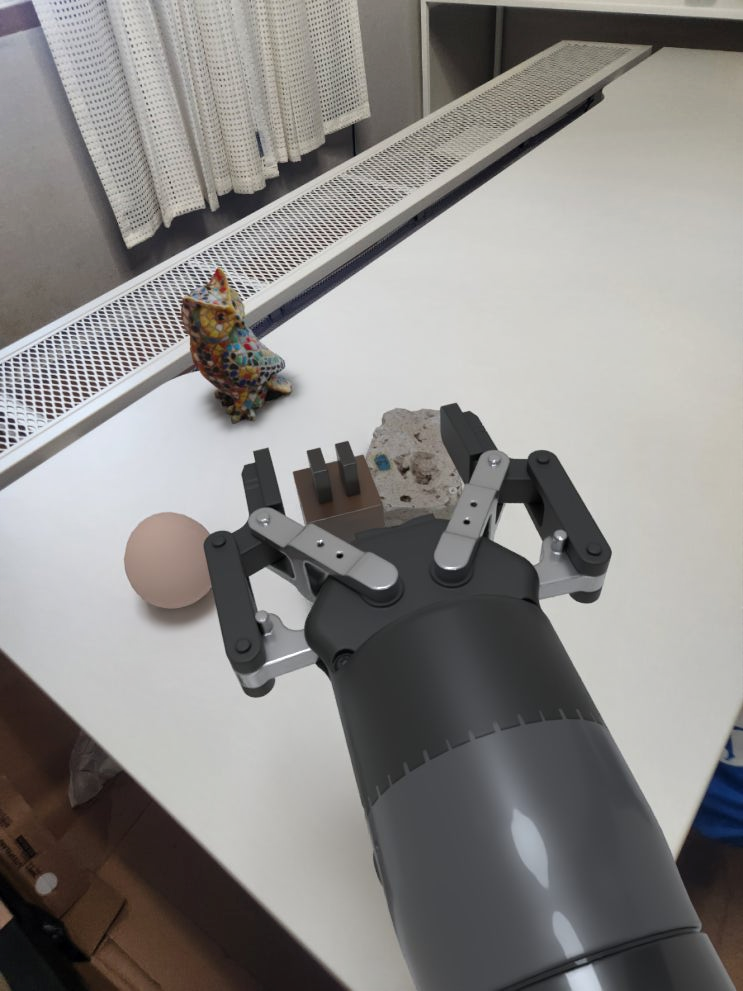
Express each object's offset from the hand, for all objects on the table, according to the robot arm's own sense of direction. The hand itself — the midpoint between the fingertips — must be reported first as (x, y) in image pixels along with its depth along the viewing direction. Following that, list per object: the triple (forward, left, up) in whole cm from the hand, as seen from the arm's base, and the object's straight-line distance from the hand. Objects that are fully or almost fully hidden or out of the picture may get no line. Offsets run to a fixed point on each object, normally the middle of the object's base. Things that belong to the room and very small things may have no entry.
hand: (356, 440), depth 30 cm
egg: (+20, -1, -25) cm, 32 cm away
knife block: (+8, -8, -25) cm, 27 cm away
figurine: (+30, -24, -25) cm, 46 cm away
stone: (+8, -20, -25) cm, 33 cm away
